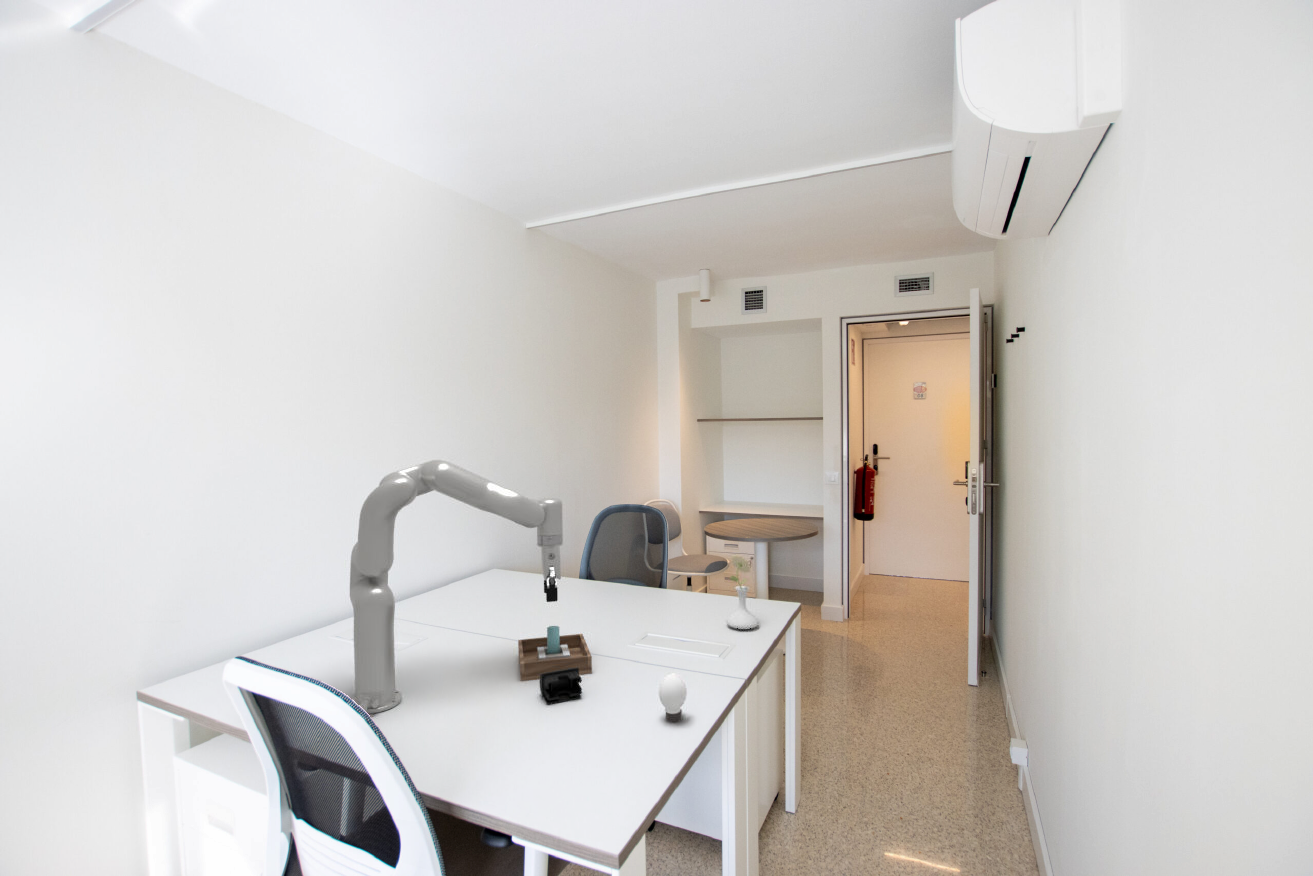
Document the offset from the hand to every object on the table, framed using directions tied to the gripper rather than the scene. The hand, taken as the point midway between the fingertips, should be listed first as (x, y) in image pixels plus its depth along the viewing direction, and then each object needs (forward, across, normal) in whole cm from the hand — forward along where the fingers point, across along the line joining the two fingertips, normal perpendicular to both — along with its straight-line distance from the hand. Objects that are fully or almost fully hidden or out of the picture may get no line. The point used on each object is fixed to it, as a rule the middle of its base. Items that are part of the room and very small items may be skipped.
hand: (550, 597), depth 187 cm
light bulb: (+20, -43, -26) cm, 54 cm away
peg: (+19, 0, -1) cm, 19 cm away
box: (+20, 0, -1) cm, 20 cm away
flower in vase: (+20, +17, -68) cm, 73 cm away
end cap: (+21, -23, -1) cm, 31 cm away
